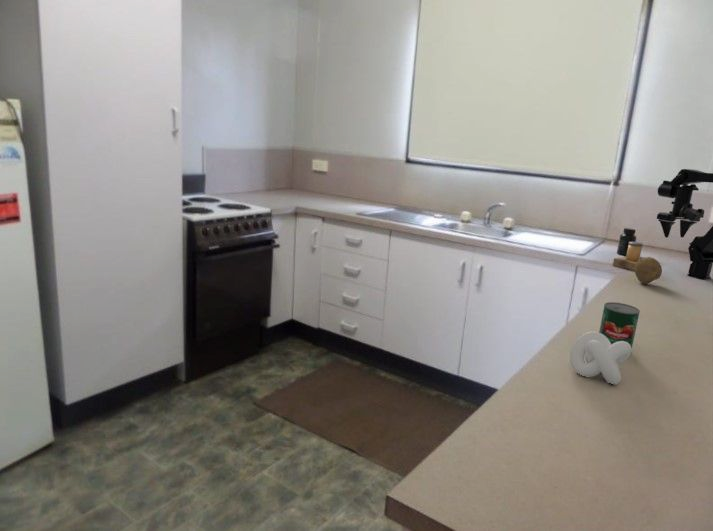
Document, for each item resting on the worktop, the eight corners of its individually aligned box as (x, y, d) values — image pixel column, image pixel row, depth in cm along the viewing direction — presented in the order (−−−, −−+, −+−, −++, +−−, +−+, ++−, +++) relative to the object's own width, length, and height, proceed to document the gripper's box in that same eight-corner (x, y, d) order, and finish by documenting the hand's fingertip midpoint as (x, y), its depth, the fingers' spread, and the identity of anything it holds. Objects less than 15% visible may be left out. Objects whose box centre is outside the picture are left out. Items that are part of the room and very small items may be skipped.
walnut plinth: (648, 269, 226) (650, 262, 226) (635, 271, 221) (637, 264, 220) (625, 263, 234) (627, 256, 233) (612, 265, 229) (614, 258, 228)
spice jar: (641, 261, 226) (645, 244, 224) (635, 262, 223) (638, 244, 221) (629, 258, 230) (633, 241, 228) (622, 259, 227) (626, 242, 225)
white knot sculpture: (635, 394, 113) (645, 353, 111) (574, 385, 115) (582, 345, 112) (620, 371, 124) (628, 334, 121) (564, 363, 125) (571, 326, 123)
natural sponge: (644, 279, 209) (649, 254, 206) (664, 286, 201) (670, 260, 198) (626, 280, 205) (631, 254, 203) (646, 287, 197) (652, 260, 195)
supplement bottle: (634, 257, 249) (640, 231, 246) (618, 255, 250) (623, 229, 247) (630, 253, 256) (635, 228, 253) (614, 252, 257) (620, 226, 254)
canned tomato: (621, 344, 140) (629, 303, 137) (637, 357, 132) (646, 313, 130) (590, 342, 140) (598, 301, 137) (605, 355, 132) (614, 311, 129)
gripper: (684, 202, 215) (675, 242, 219) (716, 203, 222) (707, 241, 226) (659, 198, 225) (651, 236, 229) (691, 199, 232) (683, 235, 236)
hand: (674, 237), depth 230 cm, fingers open, 9 cm apart
